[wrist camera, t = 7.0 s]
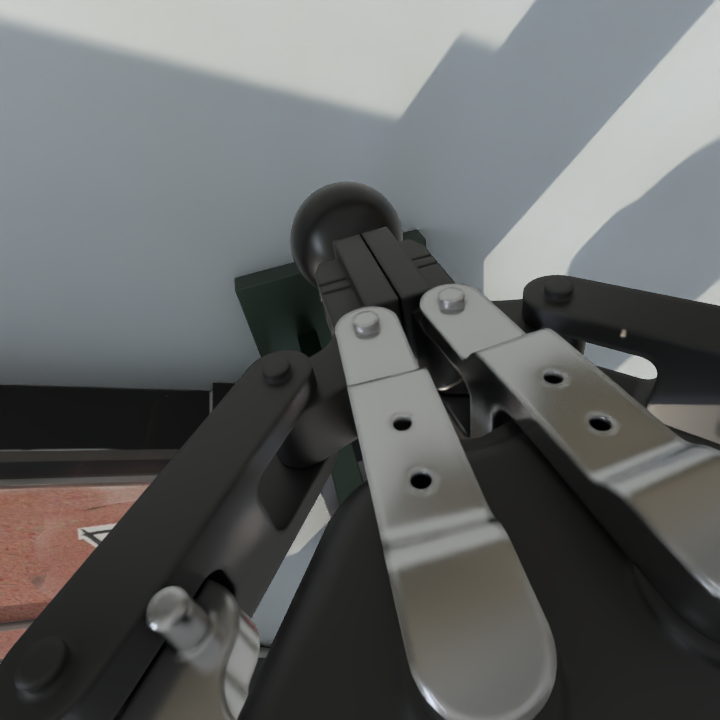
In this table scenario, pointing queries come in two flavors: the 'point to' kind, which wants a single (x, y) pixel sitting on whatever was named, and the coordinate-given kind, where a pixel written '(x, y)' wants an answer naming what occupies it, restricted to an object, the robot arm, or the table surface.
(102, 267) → the table surface
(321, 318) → the switch bracket
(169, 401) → the book
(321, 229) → the switch lever
